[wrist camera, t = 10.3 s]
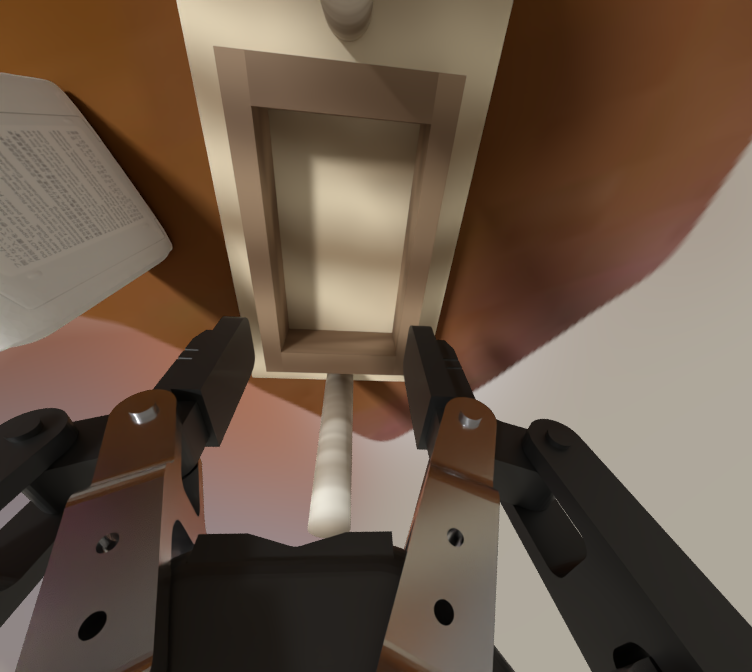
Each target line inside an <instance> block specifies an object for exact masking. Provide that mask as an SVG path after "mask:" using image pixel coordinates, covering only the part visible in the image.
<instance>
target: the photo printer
mask: <svg viewBox="0 0 752 672" xmlns="http://www.w3.org/2000/svg"><path fill="white" fill-rule="evenodd" d="M171 250H172V244H171V242H170V240H169V238H168V236H167V234H166V232H165V231H164V229H163V227H162V226H161V224H160V223H159V221H158V220H157V219H156V217H155V215H154V214H153V213H152V211H151V210H150V208H149V207H148V205H147V204H146V203H145V201H144V200H143V198H142V197H141V195H140V194H139V192H138V191H137V190H136V188H135V187H134V185H133V184H132V182H131V181H130V180H129V178H128V177H127V175H126V174H125V173H124V171H123V170H122V168H121V167H120V166H119V164H118V163H117V161H116V160H115V159H114V157H113V156H112V154H111V153H110V151H109V150H108V149H107V147H106V146H105V145H104V143H103V142H102V140H101V139H100V137H99V136H98V135H97V133H96V132H95V131H94V129H93V128H92V127H91V125H90V124H89V123H88V121H87V120H86V119H85V117H84V116H83V115H82V113H81V112H80V111H79V110H78V108H77V107H76V106H75V105H74V103H73V102H72V101H71V100H70V99H69V97H68V96H67V95H66V94H65V93H64V92H63V91H62V90H61V89H60V88H59V87H58V86H57V85H56V84H54V83H53V82H51V81H48V80H44V79H39V78H32V77H26V76H20V75H13V74H7V73H0V351H3V350H6V349H8V348H10V347H16V346H21V345H25V344H29V343H32V342H35V341H38V340H40V339H42V338H45V337H47V336H48V335H50V334H52V333H54V332H55V331H57V330H58V329H60V328H61V327H63V326H64V325H66V324H67V323H69V322H70V321H72V320H73V319H75V318H76V317H78V316H80V315H81V314H83V313H84V312H86V311H87V310H89V309H90V308H92V307H93V306H95V305H96V304H98V303H99V302H101V301H102V300H104V299H105V298H107V297H109V296H110V295H112V294H113V293H115V292H116V291H118V290H119V289H121V288H122V287H124V286H125V285H127V284H129V283H130V282H132V281H133V280H135V279H136V278H138V277H139V276H141V275H142V274H144V273H145V272H147V271H148V270H150V269H151V268H153V267H155V266H156V265H158V264H159V263H160V262H162V261H163V260H165V258H166V257H167V256H168V254H169V252H170V251H171Z"/></svg>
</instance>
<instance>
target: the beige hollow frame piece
mask: <svg viewBox="0 0 752 672" xmlns="http://www.w3.org/2000/svg"><path fill="white" fill-rule="evenodd" d="M176 1H177V6H178V11H179V16H180V20H181V25H182V30H183V35H184V40H185V45H186V50H187V55H188V60H189V65H190V70H191V75H192V80H193V85H194V90H195V95H196V100H197V105H198V110H199V114H200V119H201V124H202V129H203V134H204V139H205V144H206V149H207V154H208V159H209V164H210V169H211V174H212V179H213V184H214V189H215V194H216V199H217V204H218V209H219V213H220V218H221V223H222V228H223V233H224V238H225V243H226V248H227V253H228V258H229V263H230V268H231V273H232V278H233V283H234V288H235V293H236V298H237V303H238V308H239V312H240V317H246V318H248V320H249V323H250V329H251V334H252V340H253V346H254V351H255V364H254V368H253V371H252V377H257V378H295V379H326V386H325V394H324V402H323V410H322V418H321V426H320V434H319V442H318V450H317V458H316V466H315V474H314V482H313V490H312V498H311V506H310V514H309V522H308V532H309V533H310V534H312V535H314V536H316V537H320V538H328V537H332V536H335V535H338V534H342V533H345V532H349V531H350V525H351V524H350V523H351V472H352V471H351V470H352V469H351V468H352V420H353V380H369V381H405V380H404V375H403V360H404V354H405V348H406V342H407V337H408V331H409V327H410V326H411V325H415V326H431V327H432V330H433V333H434V335H435V333H436V329H437V324H438V320H439V316H440V311H441V307H442V303H443V299H444V294H445V290H446V286H447V282H448V277H449V273H450V269H451V265H452V260H453V256H454V252H455V247H456V243H457V239H458V235H459V230H460V226H461V222H462V218H463V213H464V209H465V205H466V201H467V196H468V192H469V188H470V183H471V179H472V175H473V171H474V166H475V162H476V158H477V154H478V149H479V145H480V141H481V137H482V132H483V128H484V124H485V119H486V115H487V111H488V107H489V102H490V98H491V94H492V90H493V85H494V81H495V77H496V73H497V68H498V64H499V60H500V56H501V51H502V47H503V43H504V38H505V34H506V30H507V26H508V21H509V17H510V13H511V9H512V4H513V0H176Z"/></svg>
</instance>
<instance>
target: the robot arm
mask: <svg viewBox="0 0 752 672" xmlns="http://www.w3.org/2000/svg"><path fill="white" fill-rule="evenodd" d="M254 364H255V351H254V346H253V340H252V334H251V329H250V323H249V320H248V318H246V317H228V316H224V317H222V318H221V319H220V321H219V322H218V323H217V325H216V326H215V328H214V329H213V330H205V331H204V332H202V333H201V334H199V335H198V336H196V337H195V338H193V339H192V340H191V342H190V343H189V344H188V346H187V347H186V348H185V351H183V352H182V353H181V354H180V356H179V358H178V359H177V360H176V361H175V362H174V363H173V365H172V366H171V367H170V368H169V370H168V371H167V372H166V374H165V375H164V376H163V377H162V378H161V380H160V381H159V382H158V384H157V385H156V386H155V387H154V389H153V390H147V391H143V392H140V393H137V394H134V395H132V396H130V397H128V398H126V399H125V400H124V401H122V402H120V403H119V404H118V405H117V406H116V407H115V408H114V409H113V410H112V412H111V413H110V414H109V415H105V416H100V417H95V418H90V419H85V420H80V421H75V422H72V420H71V419H70V418H69V416H68V415H67V414H66V413H65V411H63V410H61V409H56V408H45V409H39V410H34V411H30V412H27V413H24V414H22V415H19V416H17V417H14V418H12V419H10V420H8V421H7V422H5V423H3V424H1V425H0V510H2V508H4V507H5V506H6V505H7V504H8V503H9V502H10V501H12V500H13V499H14V498H15V497H16V496H17V495H18V494H19V493H21V492H22V493H23V494H24V495H25V496H26V497H27V498H28V499H29V500H31V501H30V502H29V503H28V504H27V505H26V506H25V507H24V508H23V509H22V510H20V511H19V512H18V514H16V515H15V516H14V517H13V518H12V519H11V520H10V521H9V522H8V523H7V524H6V525H5V526H4V527H3V528H1V530H0V627H1V626H2V625H3V624H4V623H5V621H6V620H7V619H8V618H9V617H10V615H11V614H12V613H13V612H14V611H15V610H16V608H17V607H18V606H19V605H20V604H21V603H22V601H23V600H24V599H25V598H26V597H27V596H28V594H29V593H30V592H31V591H32V590H33V588H34V587H35V586H36V585H37V584H38V582H39V581H40V580H41V579H42V578H43V576H44V578H43V582H42V585H41V588H40V591H39V595H38V598H37V601H36V604H35V608H34V611H33V614H32V617H31V621H30V624H29V627H28V631H27V634H26V637H25V641H24V644H23V647H22V650H21V654H20V657H19V660H18V663H17V667H16V670H15V672H515V671H514V670H513V669H512V668H511V666H510V665H509V664H508V663H507V661H506V660H505V658H504V657H503V656H502V655H501V653H500V652H499V651H498V649H497V648H496V647H495V646H494V625H495V624H494V623H495V602H496V601H495V600H496V579H497V556H498V532H499V508H500V502H501V504H502V506H503V508H504V510H505V512H506V514H507V515H508V517H509V519H510V521H511V523H512V525H513V527H514V528H515V530H516V532H517V534H518V536H519V538H520V540H521V541H522V543H523V545H524V547H525V549H526V550H527V553H528V554H529V556H530V558H531V560H532V562H533V563H534V565H535V567H536V569H537V571H538V573H539V575H540V577H541V578H542V580H543V582H544V584H545V586H546V588H547V590H548V591H549V593H550V595H551V597H552V599H553V601H554V602H555V604H556V606H557V608H558V610H559V612H560V614H561V615H562V617H563V619H564V621H565V623H566V625H567V627H568V628H569V630H570V632H571V634H572V636H573V638H574V640H575V641H576V643H577V645H578V647H579V649H580V650H581V653H582V654H583V656H584V658H585V660H586V662H587V664H588V665H589V667H590V669H591V671H592V672H752V627H751V626H750V625H749V624H748V622H747V621H746V620H745V619H744V618H743V617H742V616H741V615H740V613H739V612H738V611H737V610H736V609H735V608H734V607H733V606H732V605H731V604H730V602H729V601H728V600H727V599H726V598H725V597H724V596H723V595H722V594H721V592H720V591H719V590H718V589H717V588H716V587H715V586H714V585H713V584H712V583H711V581H710V580H709V579H708V578H707V577H706V576H705V575H704V574H703V573H702V571H701V570H700V569H699V568H698V567H697V566H696V565H695V564H694V563H693V562H692V561H691V559H690V558H689V557H688V556H687V555H686V554H685V553H684V552H683V551H682V550H681V548H680V547H679V546H678V545H677V544H676V543H675V542H674V541H673V539H672V538H671V537H670V536H669V535H668V534H667V533H666V532H665V531H664V530H663V528H662V527H661V526H660V525H659V524H658V523H657V522H656V521H655V520H654V518H653V517H652V516H651V515H650V514H649V513H648V512H647V511H646V510H645V508H644V507H643V506H642V505H641V504H640V503H639V502H638V501H637V500H636V499H635V497H634V496H633V495H632V494H631V493H630V492H629V491H628V490H627V489H626V487H624V485H623V484H622V483H621V482H620V481H619V480H618V479H617V478H616V477H615V475H614V474H613V473H612V472H611V471H610V470H609V469H608V468H607V466H606V465H605V464H604V463H603V462H602V461H601V460H600V459H599V458H598V457H597V456H596V454H595V453H594V452H593V451H592V450H591V449H590V448H589V447H588V446H587V444H586V443H585V442H584V441H583V440H582V439H581V438H580V437H579V436H578V435H577V434H576V433H575V432H574V431H573V430H571V429H570V428H568V427H567V426H565V425H563V424H561V423H559V422H556V421H553V420H549V419H538V420H535V421H533V422H532V423H531V425H530V426H529V428H528V429H525V428H522V427H518V426H515V425H511V424H508V423H504V422H501V421H499V420H497V419H496V418H495V415H494V414H493V412H492V411H491V410H490V409H489V408H488V407H487V406H486V405H484V404H483V403H481V402H480V401H478V400H476V399H475V397H474V395H473V392H472V390H471V388H470V385H469V383H468V381H467V379H466V376H465V374H464V372H463V369H462V367H461V365H460V362H459V361H458V358H457V355H456V353H455V351H454V349H453V348H452V347H451V346H450V345H449V344H448V343H447V342H446V341H445V340H436V338H435V335H434V333H433V330H432V327H431V326H415V325H411V326H410V327H409V331H408V337H407V342H406V348H405V354H404V360H403V375H404V380H405V386H406V391H407V397H408V402H409V408H410V413H411V419H412V424H413V430H414V435H415V440H416V446H417V449H426V450H428V455H429V461H428V465H427V468H426V472H425V476H424V479H423V483H422V486H421V490H420V494H419V497H418V501H417V505H416V508H415V512H414V516H413V520H412V523H411V527H410V530H409V533H408V537H407V540H406V544H405V547H404V549H402V548H399V547H396V546H393V542H392V532H345V533H342V534H338V535H335V536H332V537H328V538H325V539H322V540H319V541H315V542H312V543H309V544H306V545H303V546H298V547H293V546H288V545H285V544H281V543H278V542H275V541H271V540H268V539H264V538H261V537H258V536H255V535H251V534H207V532H206V527H205V515H204V494H203V472H202V461H201V459H200V456H201V454H202V452H203V450H204V447H219V446H220V444H221V442H222V440H223V437H224V435H225V433H226V430H227V428H228V426H229V424H230V421H231V419H232V417H233V415H234V412H235V410H236V407H237V405H238V403H239V401H240V399H241V396H242V394H243V392H244V389H245V387H246V385H247V383H248V380H249V378H250V376H251V373H252V371H253V368H254ZM555 498H556V499H557V500H556V499H555ZM557 501H558V502H559V503H558V502H557ZM559 504H560V505H561V506H562V507H561V506H560V505H559ZM562 508H563V509H564V510H563V509H562ZM564 511H565V512H566V513H565V512H564ZM566 514H567V515H568V516H569V518H570V519H571V520H570V519H569V518H568V516H567V515H566ZM571 521H572V522H573V523H572V522H571ZM573 524H574V525H575V526H574V525H573ZM575 527H576V528H577V529H578V531H579V532H580V534H581V535H580V534H579V532H578V531H577V529H576V528H575ZM581 536H582V537H583V538H582V537H581Z"/></svg>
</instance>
